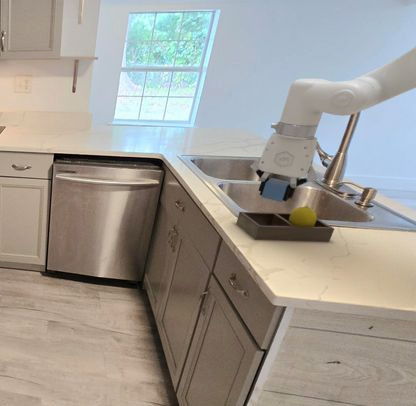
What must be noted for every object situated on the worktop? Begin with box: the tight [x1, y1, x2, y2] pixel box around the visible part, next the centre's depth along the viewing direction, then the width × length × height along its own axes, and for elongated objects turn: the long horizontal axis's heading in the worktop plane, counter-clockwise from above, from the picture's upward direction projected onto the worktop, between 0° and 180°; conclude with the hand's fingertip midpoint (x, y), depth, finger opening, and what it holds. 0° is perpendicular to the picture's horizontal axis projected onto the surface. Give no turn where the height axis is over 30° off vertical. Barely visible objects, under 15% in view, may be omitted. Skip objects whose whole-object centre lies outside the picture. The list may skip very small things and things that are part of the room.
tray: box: [235, 211, 335, 243], centre depth 102 cm, size 10×18×4 cm, turn 83°
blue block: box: [261, 177, 290, 203], centre depth 98 cm, size 4×4×4 cm
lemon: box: [289, 205, 317, 227], centre depth 100 cm, size 6×6×8 cm
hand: (274, 196), depth 99 cm, fingers closed on blue block, 4 cm apart
